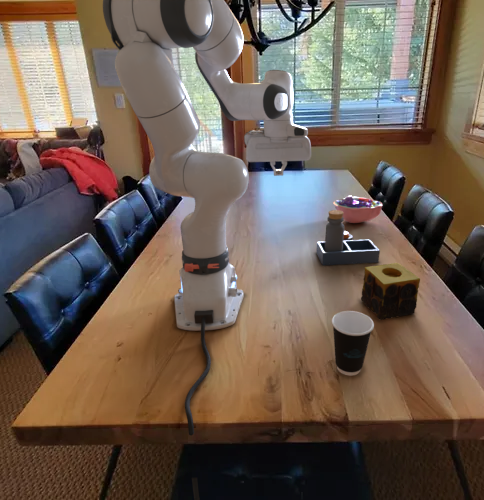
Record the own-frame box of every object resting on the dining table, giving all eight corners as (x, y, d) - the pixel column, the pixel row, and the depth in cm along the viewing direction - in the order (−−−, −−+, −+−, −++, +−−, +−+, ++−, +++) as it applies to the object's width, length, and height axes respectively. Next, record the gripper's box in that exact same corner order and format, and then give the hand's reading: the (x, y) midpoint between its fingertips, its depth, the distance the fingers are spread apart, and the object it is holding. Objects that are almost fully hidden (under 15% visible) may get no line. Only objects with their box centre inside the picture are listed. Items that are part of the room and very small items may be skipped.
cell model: (386, 228, 150) (389, 200, 145) (336, 229, 150) (337, 201, 145) (374, 214, 165) (377, 189, 161) (329, 215, 165) (331, 190, 161)
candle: (379, 321, 90) (383, 285, 86) (359, 300, 99) (362, 266, 95) (416, 314, 93) (422, 279, 89) (393, 294, 102) (397, 261, 98)
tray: (378, 262, 121) (379, 250, 119) (322, 265, 119) (322, 253, 118) (368, 250, 129) (369, 239, 128) (316, 253, 128) (316, 241, 126)
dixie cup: (349, 387, 71) (354, 339, 66) (320, 364, 77) (323, 319, 72) (377, 370, 75) (382, 324, 71) (347, 349, 81) (351, 306, 76)
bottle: (330, 250, 128) (332, 208, 122) (345, 254, 124) (348, 211, 118) (321, 256, 123) (323, 212, 117) (336, 260, 120) (339, 216, 114)
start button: (349, 238, 133) (350, 234, 132) (339, 239, 133) (340, 234, 132) (346, 235, 136) (347, 230, 135) (337, 235, 136) (337, 231, 135)
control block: (357, 248, 131) (358, 240, 130) (335, 249, 131) (335, 241, 129) (349, 238, 140) (350, 230, 139) (328, 239, 140) (329, 231, 139)
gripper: (244, 131, 109) (245, 178, 115) (313, 130, 111) (311, 176, 116) (243, 129, 115) (245, 174, 121) (309, 128, 117) (308, 172, 122)
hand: (278, 175), depth 118 cm, fingers closed
